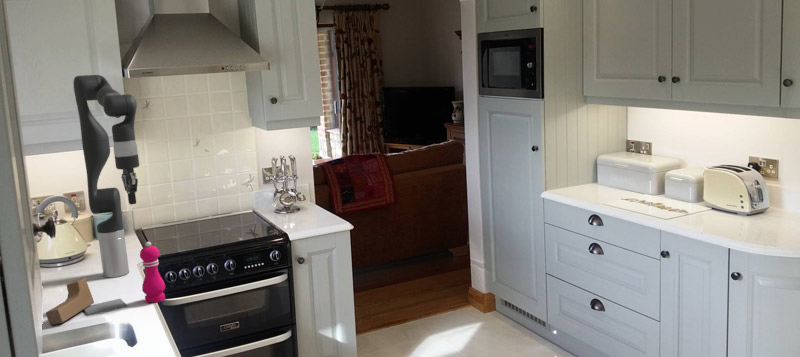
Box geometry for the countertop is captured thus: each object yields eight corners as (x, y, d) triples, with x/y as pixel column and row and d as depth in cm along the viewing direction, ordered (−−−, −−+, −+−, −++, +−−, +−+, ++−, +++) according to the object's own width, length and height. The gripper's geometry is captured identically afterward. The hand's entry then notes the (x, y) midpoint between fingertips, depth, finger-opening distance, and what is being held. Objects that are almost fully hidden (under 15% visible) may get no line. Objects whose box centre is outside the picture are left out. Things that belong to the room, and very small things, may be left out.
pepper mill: (144, 305, 233) (137, 245, 230) (143, 299, 240) (135, 241, 236) (167, 301, 236) (160, 242, 233) (165, 295, 242) (158, 237, 239)
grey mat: (82, 309, 233) (82, 307, 233) (120, 300, 240) (120, 298, 240) (87, 315, 226) (87, 313, 226) (127, 306, 233) (126, 304, 233)
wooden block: (73, 280, 236) (39, 298, 218) (85, 277, 235) (52, 295, 217) (83, 305, 237) (49, 326, 219) (94, 302, 236) (62, 322, 218)
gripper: (142, 154, 239) (148, 204, 242) (132, 151, 250) (139, 199, 253) (119, 157, 235) (126, 208, 238) (110, 153, 246) (116, 203, 249)
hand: (132, 203), depth 246 cm, fingers closed
